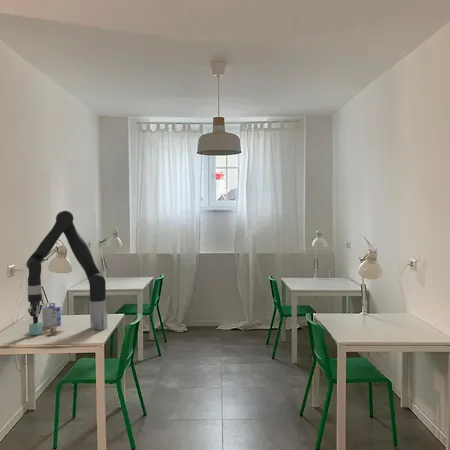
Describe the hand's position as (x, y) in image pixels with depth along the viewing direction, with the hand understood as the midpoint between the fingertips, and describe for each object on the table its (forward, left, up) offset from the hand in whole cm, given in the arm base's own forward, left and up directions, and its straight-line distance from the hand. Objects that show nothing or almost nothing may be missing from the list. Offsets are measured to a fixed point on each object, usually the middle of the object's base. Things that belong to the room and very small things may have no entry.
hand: (35, 322), depth 295 cm
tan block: (-10, -1, -7) cm, 12 cm away
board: (-3, -4, -8) cm, 9 cm away
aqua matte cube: (0, 0, -6) cm, 6 cm away
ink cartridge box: (+1, -22, -8) cm, 23 cm away
